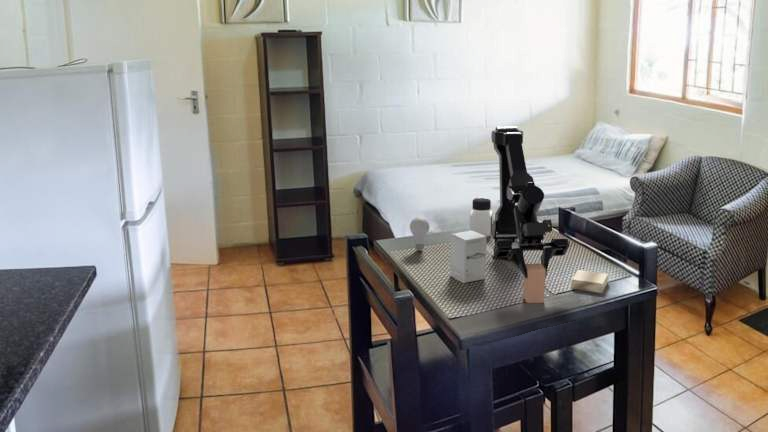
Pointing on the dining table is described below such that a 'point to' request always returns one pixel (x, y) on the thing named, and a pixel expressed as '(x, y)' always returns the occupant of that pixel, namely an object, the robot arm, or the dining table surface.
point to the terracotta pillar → (534, 283)
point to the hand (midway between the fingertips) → (535, 277)
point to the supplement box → (468, 256)
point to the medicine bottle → (481, 216)
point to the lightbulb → (419, 231)
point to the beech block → (589, 281)
